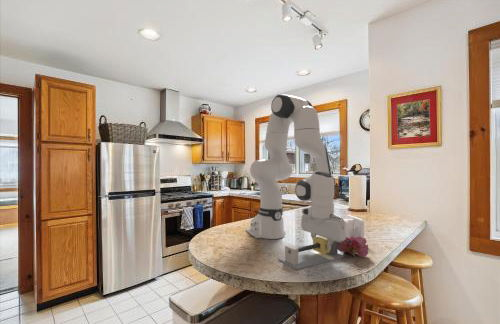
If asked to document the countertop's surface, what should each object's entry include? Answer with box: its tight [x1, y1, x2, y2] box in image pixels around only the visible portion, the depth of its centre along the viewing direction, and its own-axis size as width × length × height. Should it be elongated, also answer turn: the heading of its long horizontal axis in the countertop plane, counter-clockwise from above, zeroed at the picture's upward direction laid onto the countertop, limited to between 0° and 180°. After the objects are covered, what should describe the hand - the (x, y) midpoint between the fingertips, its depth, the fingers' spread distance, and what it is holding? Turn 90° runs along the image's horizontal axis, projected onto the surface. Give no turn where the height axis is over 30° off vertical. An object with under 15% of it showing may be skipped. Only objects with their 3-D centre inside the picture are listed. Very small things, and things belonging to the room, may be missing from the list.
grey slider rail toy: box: [278, 237, 345, 271], centre depth 94 cm, size 10×25×7 cm, turn 122°
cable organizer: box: [341, 214, 365, 238], centre depth 117 cm, size 15×11×12 cm
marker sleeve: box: [312, 235, 330, 254], centre depth 97 cm, size 5×4×5 cm
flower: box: [338, 236, 369, 261], centre depth 98 cm, size 11×10×10 cm
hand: (321, 246), depth 97 cm, fingers closed on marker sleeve, 5 cm apart
